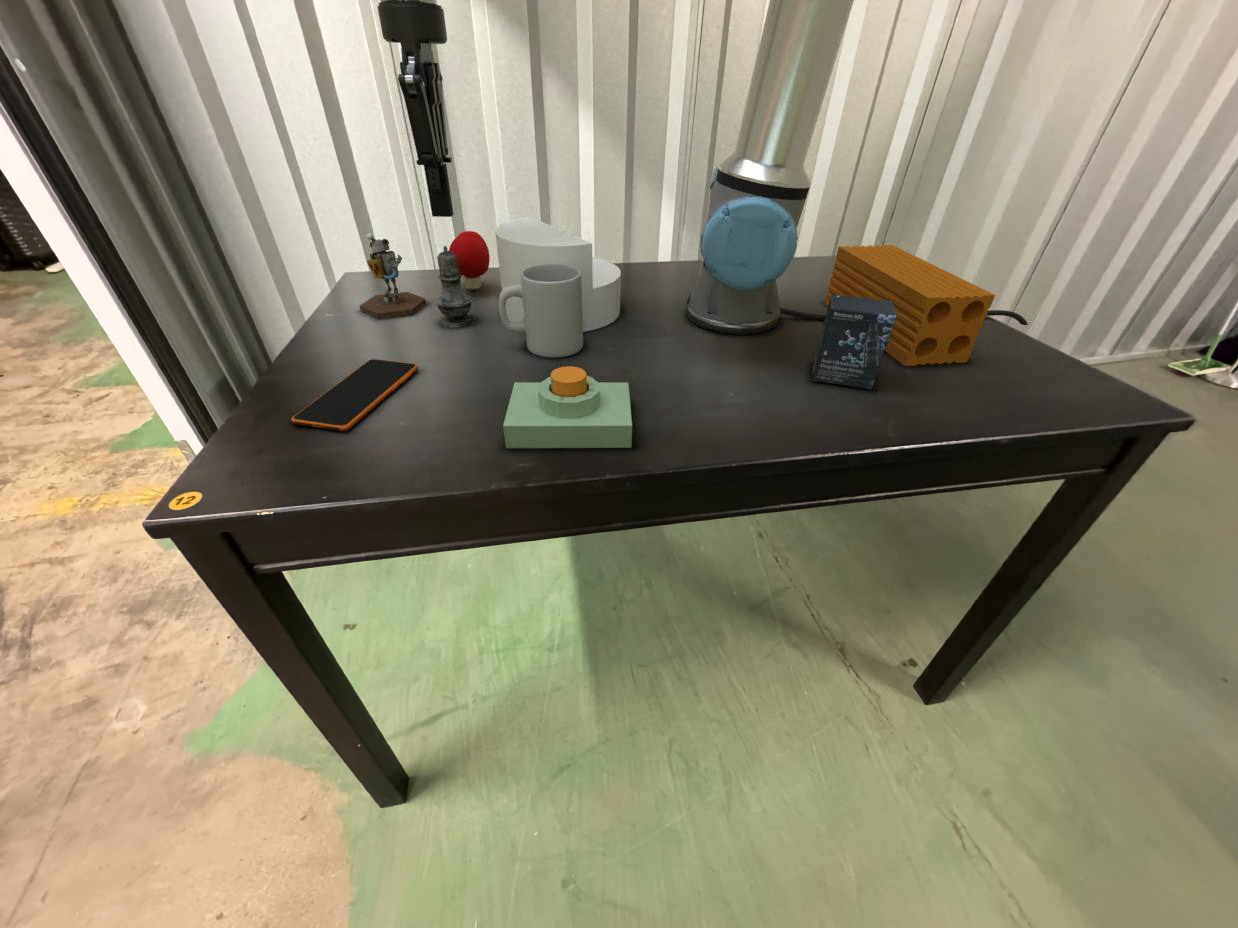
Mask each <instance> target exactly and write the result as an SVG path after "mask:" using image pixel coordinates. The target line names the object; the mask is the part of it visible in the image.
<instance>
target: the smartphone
mask: <svg viewBox="0 0 1238 928" xmlns="http://www.w3.org/2000/svg"><path fill="white" fill-rule="evenodd" d="M418 369H419V366H418V364H416V363H411V362H403V361H402V362H401V361H395V360H384V359H379V358H377V359H376V358H372V359H368V360H367V361H366V362H364V363H363V364H362V365H360V366H359V367H358V368H356V369H355V370H353V371H352V372H351V373H350V374H348V375H347V376H346V377H344V378H342V379H341V380H340V381H339V382H338V383H336V384H335V385H333V386H332V387H331V388H330V389H328V390H327V391H325V392H324V393H323V394H322V395H320V396H319V397H318V398H316V399H315V400H313V401H312V402H311V403H309V404H308V405H307V406H305V407H304V408H303V409H302V410H300V411H299V412H298V413H296V414H294V416H292V417H291V419H290V420H291V422H292V424H295V425H298V426H299V425H301V426H307V427H315V428H321V429H328V430H335V431H348V430H350V429H351V428H352V427H353V426H355V425H356V424H357V423H358V422H359V421H360V420H361V419H363V418H364V417H365V416H366V415H367V414H369V412H370V411H372V410H373V409H374V408H375V407H376V406H378V405H379V404H380V403H381V402H382V401H383V400H384V399H386V397H388V396H389V395H390V394H391V393H392V392H394V391H395V390H396V389H397V388H398V387H399V386H400V385H402V384H403V383H404V382H406V380H407V379H409V377H411V376H412V375H413V374H414V373H415V372H416V371H417V370H418Z"/></svg>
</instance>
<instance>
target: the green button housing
mask: <svg viewBox="0 0 1238 928" xmlns="http://www.w3.org/2000/svg"><path fill="white" fill-rule="evenodd" d="M630 396H631V395H630V385H629V382H628V381H627V382H626V381H625V382H624V381H623V382H613V381H612V382H610V381H609V382H603V381H602V382H598V381H597V380H596V379H594V378H593V376H589V375H587V391H586V393H585V394H583V395H580V396H576V397H561V396H557V395H554V394H553V393H552V387H551V376H548V377H546V378H545V379H544V380H542V381H541V382H530V381H529V382H525V381H523V382H521V381H519V382H518V381H517V382H516V381H515V382H514V384H513V387H512V391H511V395H510V398H509V402H508V406H507V410H506V414H505V417H504V421H503V425H502V427H503V435H504V443H505V448H506V449H631V448H632V443H633V420H632V407H631V397H630Z"/></svg>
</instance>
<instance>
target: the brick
mask: <svg viewBox="0 0 1238 928" xmlns="http://www.w3.org/2000/svg"><path fill="white" fill-rule="evenodd" d="M835 258H836V260H835V261H834V263H833V266H834V269H833V270H832V272H831V274H832V277H830V281H829V282H830V284H829V285H828V293H826V297H825V301H824V305H825V306H827V307H828V306H829V302H830V298H831V295H832V294H838V295H842V296H850V297H859V298H869V299H877V300H888V301H893V305H894V309H895V313H896V319H895V322H894V325H893V328H892V331H891V334H890V337H889V340H888V343H887V346H886V349H885V352H886V353H887V354H889V355H890V356H891V357H892V358H894V359H895V360H896V361H897V362H899V363H900V364H901V365H903V367H911V366H917V365H921V366H925V365H927V364H929V365H935V364H937V365H942V364H944V363H946V364H952V363H956V364H960V363H968V361H969V359H970V357H971V353H972V352H973V347H975V345H976V339H977V338H978V337H979V335H980V329H981V328H983V326H984V320H985V319H986V318H987V317H988V316H987V314H988V312H987V311H989V309H990V308H991V306H992V305H993V302H994V300H995V297H996V294H994V293H992V292H990V291H988V290H986V289H984V288H982V287H980V286H978V285H976V284H974V283H972V282H969V280H968V281H967V280H965V279H963V278H961V277H959V276H957V275H956V274H954V273H951V272H949V271H947V270H945V269H943V268H941V267H939V266H937V265H934V264H932V263H930V262H928V261H926V260H924V259H923V258H920V257H918V256H916V255H914V254H912V253H910V252H908V251H906V250H903V249H902V248H900V247H898V246H896V245H894V244H883V245H879V244H878V245H876V244H875V245H874V246H873V245H867V246H865V245H860V246H858V245H853V246H850V245H844V246H843V245H842V246H841V245H840V246H838V247H837V251H836V255H835Z"/></svg>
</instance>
